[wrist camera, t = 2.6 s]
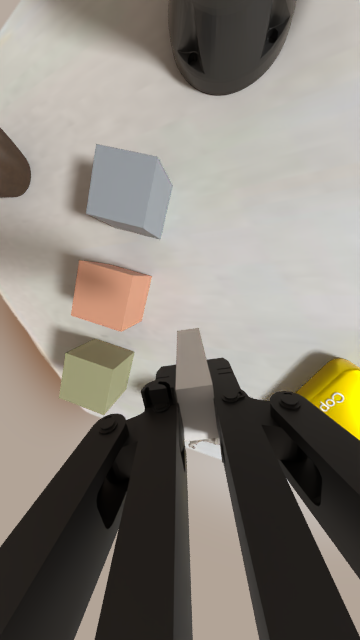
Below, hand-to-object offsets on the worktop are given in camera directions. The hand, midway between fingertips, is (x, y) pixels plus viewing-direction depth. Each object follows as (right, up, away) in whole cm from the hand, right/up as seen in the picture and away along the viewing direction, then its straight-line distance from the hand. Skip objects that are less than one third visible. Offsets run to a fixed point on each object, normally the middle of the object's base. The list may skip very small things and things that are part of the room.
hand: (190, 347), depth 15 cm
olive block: (-14, -7, +25) cm, 30 cm away
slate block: (-7, +20, +19) cm, 28 cm away
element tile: (+25, -13, +20) cm, 35 cm away
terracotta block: (-10, +7, +22) cm, 25 cm away
